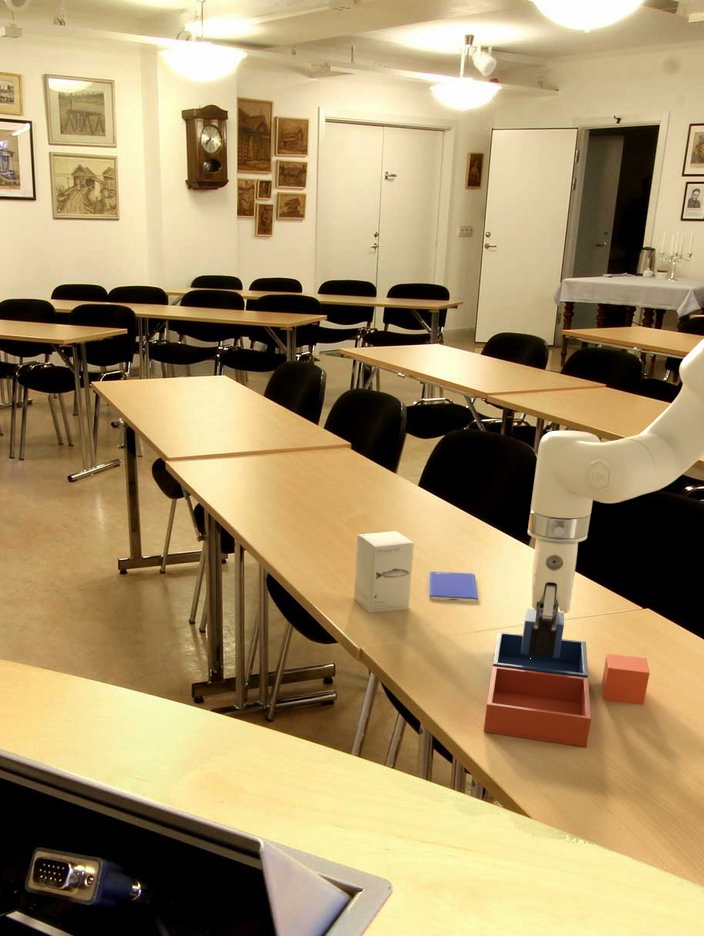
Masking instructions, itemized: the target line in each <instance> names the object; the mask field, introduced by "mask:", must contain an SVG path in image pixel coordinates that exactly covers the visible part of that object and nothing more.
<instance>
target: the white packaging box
mask: <svg viewBox="0 0 704 936" xmlns="http://www.w3.org/2000/svg"><path fill="white" fill-rule="evenodd" d="M414 545H415V543H414V541H412V540H411V539H409V538H408V537H406V536H404V535H403V534H401V533H399V532H398V531H396V530H394V531H384V532H373V533H363V534H357V536H356V551H355V552H356V553H355V571H354V572H355V573H354V588H353V589H354V592H353V599H354V600H355V601H357V603H358V604H359V605H360V606H361V607H363V609H365V610H366V611H367V613H368V612H369V613H370V614H371V613H372V614H373V613H380V612H388V611H397V610H405V609H409V608H410V596H411V595H410V593H411V581H412V568H413V558H414V557H413V556H414Z"/></svg>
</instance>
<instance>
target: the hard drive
mask: <svg viewBox="0 0 704 936" xmlns="http://www.w3.org/2000/svg"><path fill="white" fill-rule="evenodd" d="M428 583H429V584H428V585H429V586H428V594H429V595H428V596H429V597H428V598H429V600H442V601H461V602H476V603H477V602H479V596H478V589H477V581H476V574H475V573H471V572H452V571H451V572H450V571H430V572H428Z"/></svg>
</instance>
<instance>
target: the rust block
mask: <svg viewBox="0 0 704 936" xmlns="http://www.w3.org/2000/svg"><path fill="white" fill-rule="evenodd" d="M603 668H604V669H603V674H602V680H601V690H602V693H601V694H602V700H604V701H612V702H620V703H626V704H633V705H634V704H635V705H642V706H644V704H645V699H646V694H647V689H648V685H649V679H650V668H649V664H648V659H647V658H646V657H638V656H630V655H621V654H613V653H606V656H605V661H604V667H603Z"/></svg>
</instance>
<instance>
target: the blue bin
mask: <svg viewBox="0 0 704 936" xmlns="http://www.w3.org/2000/svg"><path fill="white" fill-rule="evenodd" d="M522 638H523V634H520V633H514V632H513V633H512V632H502V631H497V636H496V644H495V648H494V649H495V650H494V655H493V656H494V657H493V663H492V667H493V666H495V667H503V668H511V669H519V670H527V671H535V672H543V673H551V674H559V675H567V676H575V677H583V678H588V679H589V668H588V656H587V655H588V654H587V642H586V641H581V640H574V639H564V638H562V641H561V648H560V655H559V658H555V657H551V658H549V657H541V656H533V655H530V654H522V653H521V648H522ZM530 658H531V659H530Z"/></svg>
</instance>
